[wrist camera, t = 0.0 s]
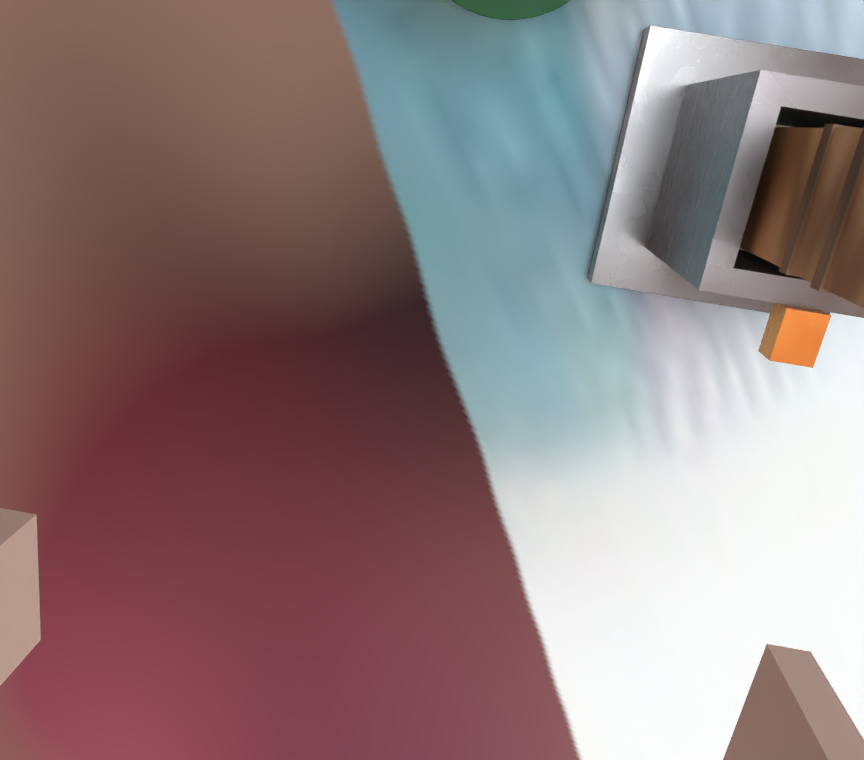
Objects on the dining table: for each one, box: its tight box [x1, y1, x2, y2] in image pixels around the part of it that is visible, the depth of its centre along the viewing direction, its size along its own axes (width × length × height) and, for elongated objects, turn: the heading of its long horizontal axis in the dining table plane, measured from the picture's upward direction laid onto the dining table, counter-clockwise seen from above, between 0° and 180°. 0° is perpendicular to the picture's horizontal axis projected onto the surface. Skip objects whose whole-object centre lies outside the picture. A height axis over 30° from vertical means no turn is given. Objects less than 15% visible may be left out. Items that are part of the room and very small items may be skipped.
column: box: [739, 124, 864, 308], centre depth 24 cm, size 5×5×23 cm
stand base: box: [588, 26, 864, 368], centre depth 31 cm, size 12×12×12 cm
